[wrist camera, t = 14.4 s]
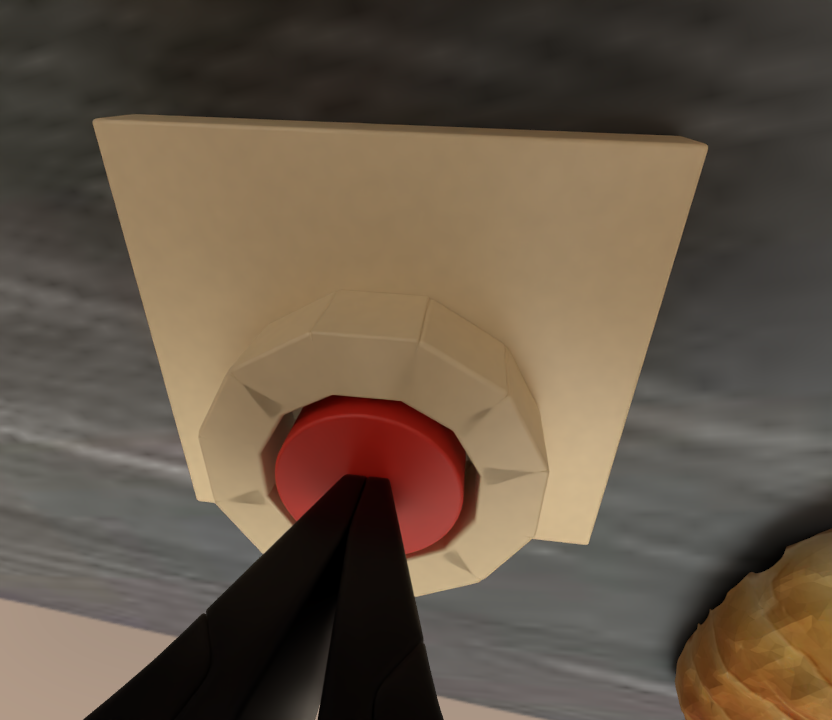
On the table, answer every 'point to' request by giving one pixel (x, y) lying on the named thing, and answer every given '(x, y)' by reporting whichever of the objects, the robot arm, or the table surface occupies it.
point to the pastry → (766, 644)
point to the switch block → (403, 301)
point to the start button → (376, 461)
